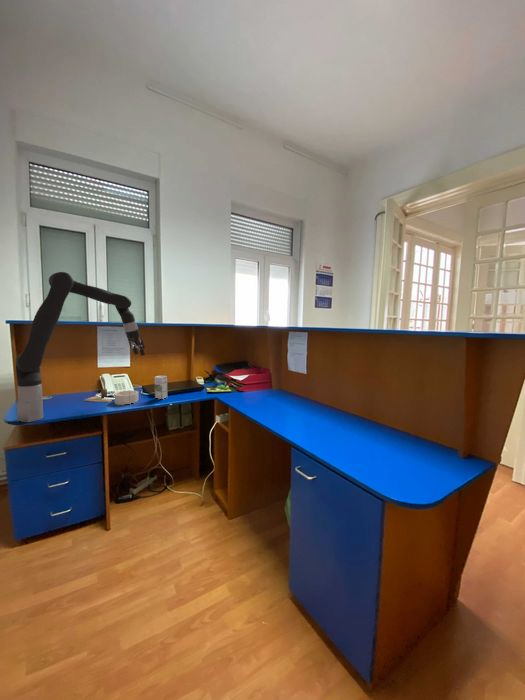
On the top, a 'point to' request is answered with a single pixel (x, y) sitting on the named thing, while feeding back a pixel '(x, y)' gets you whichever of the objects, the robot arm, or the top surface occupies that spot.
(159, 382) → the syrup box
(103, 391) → the oak lid
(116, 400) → the cream bowl
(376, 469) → the top surface
